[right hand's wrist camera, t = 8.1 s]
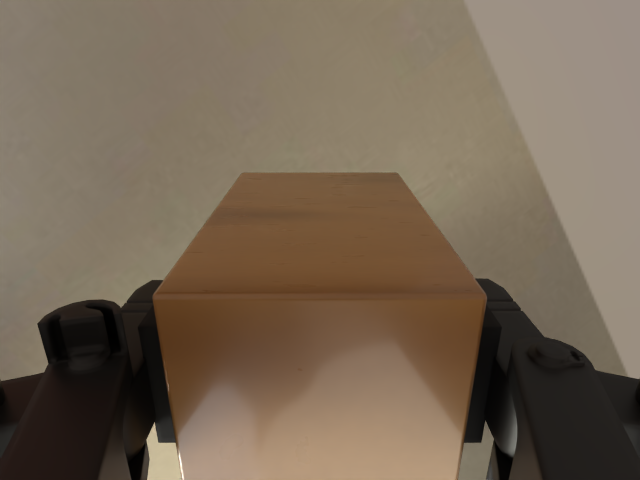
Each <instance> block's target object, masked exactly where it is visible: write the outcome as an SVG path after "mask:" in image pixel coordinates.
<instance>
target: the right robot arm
mask: <svg viewBox="0 0 640 480" xmlns="http://www.w3.org/2000/svg"><path fill="white" fill-rule="evenodd" d="M475 280H476V281H477V282H478V284H479V285H480V286H481V288H482V289H483V290H484V292H485V293H486V296H487V302H486V308H485V314H484V320H483V327H482V333H481V339H480V345H479V351H478V358H477V364H476V370H475V376H474V382H473V389H472V395H471V401H470V407H469V413H468V420H467V426H466V432H465V438H464V443H481V441H482V435H483V430H484V424H485V420H486V423H487V425H488V427H489V429H490V431H491V433H492V435H493V438H494V441H493V447H492V452H491V457H490V462H489V467H488V472H487V477H486V480H640V379H635V378H630V377H625V376H619V375H614V374H609V373H604V372H600V371H596V370H595V369H594V367H593V365H592V363H591V362H590V361H589V360H588V358H587V357H586V356H585V355H584V354H583V353H582V352H580V351H579V350H577V349H576V348H574V347H573V346H570V345H568V344H566V343H563V342H561V341H558V340H554V339H550V338H546V337H544V336H543V335H542V334H541V333H540V331H539V330H538V329H537V328H536V327H535V325H534V324H533V323H532V322H531V321H530V319H529V318H528V317H527V316H526V314H525V313H524V312H523V311H521V308H520V307H519V306H518V305H517V304H516V302H513V299H512V298H511V296H510V295H509V294H508V293H507V291H506V290H505V289H504V288H503V287H501V286H499V285H498V284H496V283H494V282H493V281H491V280H489V279H475ZM162 282H163V280H151V281H150V282H148V283H147V284H145V285H143V286H142V287H140V288H138V289H137V290H136V291H135V292H134V293H133V294H132V295H131V297H130V298H129V299H128V300H127V303H125V304H124V305H123V306H122V308H120V306H119V305H117V304H116V303H115V302H112V301H107V300H86V301H81V302H76V303H72V304H69V305H66V306H63V307H61V308H58V309H56V310H54V311H53V312H51V313H49V314H47V315H46V316H44V317H43V318H42V319H41V320H40V321H39V322H38V323H37V324H38V328H39V331H40V335H41V338H42V342H43V346H44V349H45V353H46V356H47V360H48V363H49V364H48V366H47V368H46V370H45V372H44V373H40V374H36V375H31V376H26V377H21V378H15V379H10V380H5V381H0V480H147V475H148V467H149V452H148V447H147V441H146V439H147V437H148V435H149V433H150V431H151V428H152V426H153V424H154V422H155V426H156V431H157V437H158V442H159V443H176V441H175V435H174V428H173V422H172V416H171V410H170V404H169V398H168V391H167V385H166V379H165V373H164V367H163V360H162V354H161V348H160V342H159V336H158V330H157V323H156V317H155V311H154V305H153V298H152V297H153V294H154V293H155V291H156V290H157V288H158V287H159V286H160V284H161V283H162Z"/></svg>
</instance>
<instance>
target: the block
mask: <svg viewBox="0 0 640 480" xmlns="http://www.w3.org/2000/svg"><path fill="white" fill-rule="evenodd" d="M152 298H153V305H154V311H155V317H156V323H157V330H158V336H159V342H160V348H161V354H162V360H163V367H164V373H165V379H166V385H167V391H168V398H169V404H170V410H171V416H172V422H173V428H174V435H175V441H176V447H177V453H178V459H179V465H180V472H181V478H182V480H458V475H459V469H460V463H461V457H462V451H463V444H464V438H465V432H466V426H467V420H468V413H469V407H470V401H471V395H472V389H473V382H474V376H475V370H476V364H477V358H478V351H479V345H480V339H481V333H482V327H483V320H484V314H485V308H486V302H487V296H486V293H485V292H484V290H483V289H482V288H481V286H480V285H479V284H478V282H477V281H476V280H475V278H474V277H473V275H472V274H471V273H470V271H469V270H468V269H467V267H466V266H465V264H464V263H463V262H462V260H461V259H460V258H459V256H458V255H457V253H456V252H455V251H454V249H453V248H452V247H451V245H450V244H449V242H448V241H447V240H446V238H445V237H444V236H443V234H442V233H441V231H440V230H439V229H438V227H437V226H436V225H435V223H434V222H433V221H432V219H431V218H430V216H429V215H428V214H427V212H426V211H425V210H424V208H423V207H422V205H421V204H420V203H419V201H418V200H417V199H416V197H415V196H414V194H413V193H412V192H411V190H410V189H409V188H408V186H407V185H406V183H405V182H404V181H403V179H402V178H401V177H400V175H399V174H398V173H242V174H241V175H240V176H239V178H238V179H237V180H236V182H235V183H234V184H233V186H232V187H231V189H230V190H229V191H228V193H227V194H226V195H225V197H224V198H223V200H222V201H221V202H220V204H219V205H218V206H217V208H216V209H215V210H214V212H213V213H212V215H211V216H210V217H209V219H208V220H207V221H206V223H205V224H204V226H203V227H202V228H201V230H200V231H199V232H198V234H197V235H196V236H195V238H194V239H193V241H192V242H191V243H190V245H189V246H188V247H187V249H186V250H185V252H184V253H183V254H182V256H181V257H180V258H179V260H178V261H177V262H176V264H175V265H174V267H173V268H172V269H171V271H170V272H169V273H168V275H167V276H166V278H165V279H164V280H163V282H162V283H161V284H160V286H159V287H158V288H157V290H156V291H155V293H154V294H153V297H152Z"/></svg>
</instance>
